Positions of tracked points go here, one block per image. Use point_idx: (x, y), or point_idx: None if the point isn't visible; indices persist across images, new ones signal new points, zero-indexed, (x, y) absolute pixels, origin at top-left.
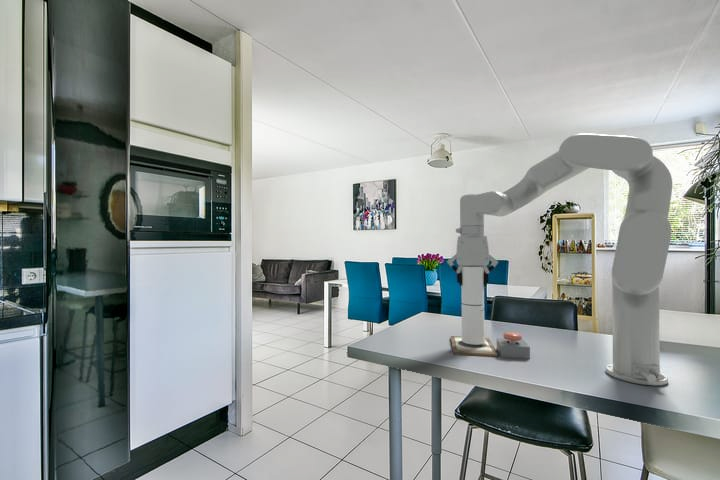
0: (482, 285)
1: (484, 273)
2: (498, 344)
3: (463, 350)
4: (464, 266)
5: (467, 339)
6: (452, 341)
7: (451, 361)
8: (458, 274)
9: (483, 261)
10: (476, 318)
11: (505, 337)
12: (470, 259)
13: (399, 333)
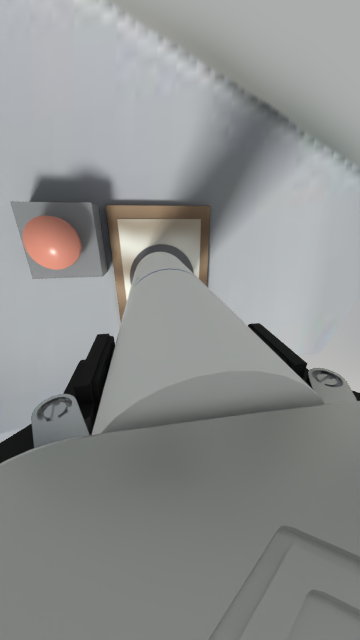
0: (124, 323)
1: (92, 404)
2: (100, 248)
3: (186, 219)
4: None
5: (176, 257)
6: None
7: (219, 140)
8: (302, 373)
9: (36, 522)
10: (156, 262)
11: (74, 230)
12: (348, 524)
13: (302, 336)
